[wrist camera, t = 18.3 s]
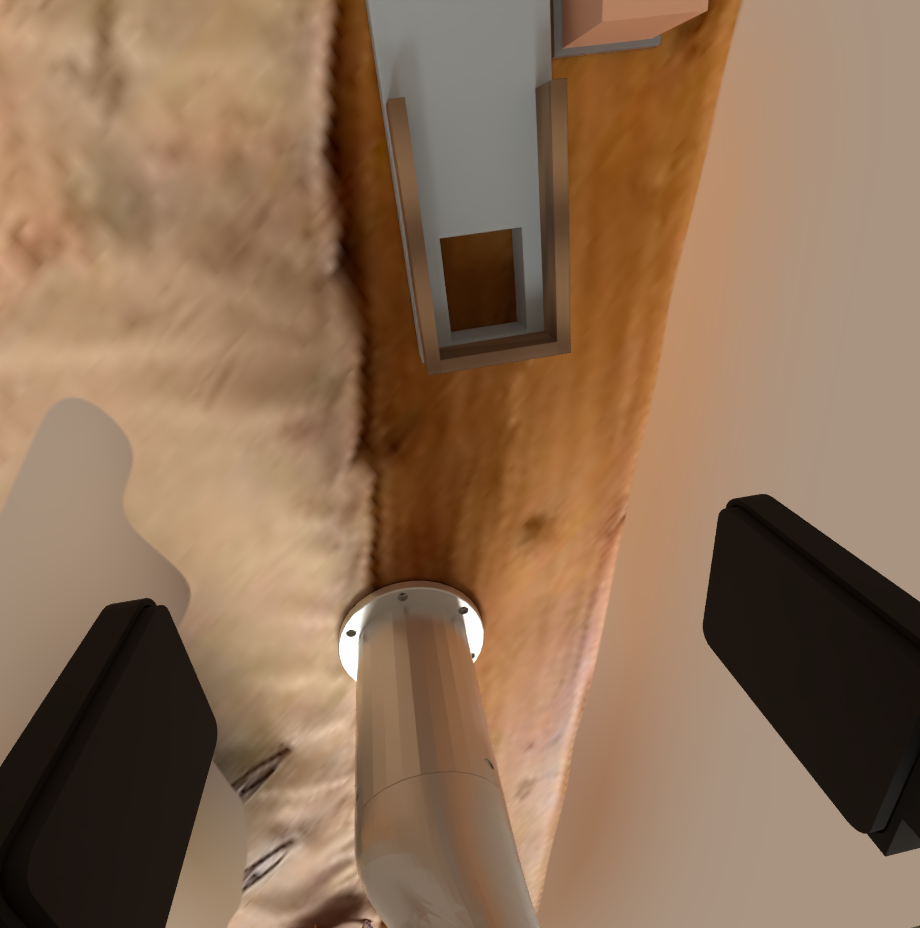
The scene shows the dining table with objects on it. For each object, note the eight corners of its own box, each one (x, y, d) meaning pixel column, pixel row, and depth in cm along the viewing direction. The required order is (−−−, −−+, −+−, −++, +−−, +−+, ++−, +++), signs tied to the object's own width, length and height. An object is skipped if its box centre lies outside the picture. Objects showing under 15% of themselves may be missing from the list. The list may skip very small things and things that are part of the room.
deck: (546, 331, 36) (558, 341, 34) (419, 351, 36) (422, 362, 34) (530, -118, 26) (546, -145, 24) (349, -103, 25) (348, -130, 23)
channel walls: (556, 341, 34) (570, 352, 32) (424, 362, 34) (428, 375, 31) (550, 86, 28) (566, 78, 26) (385, 105, 27) (387, 98, 25)
